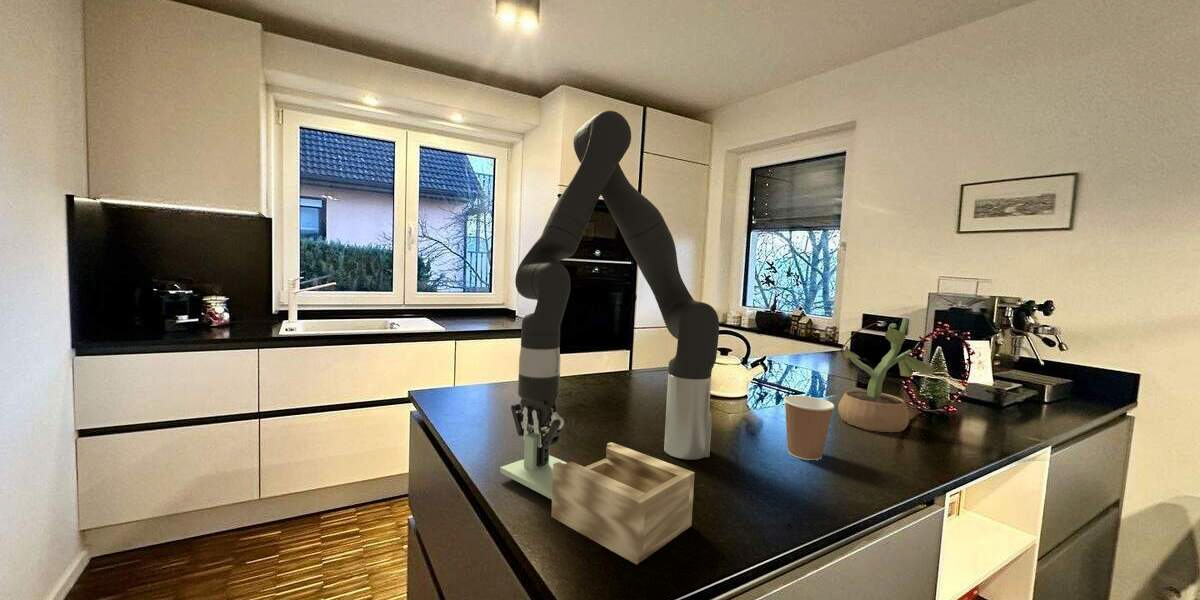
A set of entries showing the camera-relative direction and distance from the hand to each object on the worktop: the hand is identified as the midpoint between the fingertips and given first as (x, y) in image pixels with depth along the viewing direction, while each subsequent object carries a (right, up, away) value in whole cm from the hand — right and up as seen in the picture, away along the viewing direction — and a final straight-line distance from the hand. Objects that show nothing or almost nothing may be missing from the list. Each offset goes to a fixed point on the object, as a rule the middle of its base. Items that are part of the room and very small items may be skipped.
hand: (536, 462), depth 89 cm
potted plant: (+86, -4, +39) cm, 95 cm away
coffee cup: (+57, -4, +18) cm, 60 cm away
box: (+15, -5, -13) cm, 21 cm away
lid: (+2, -2, -2) cm, 3 cm away
